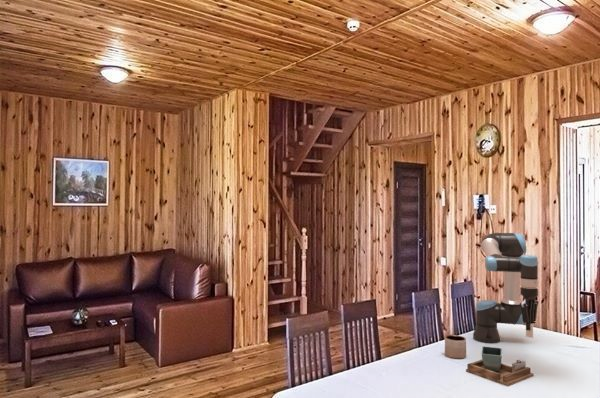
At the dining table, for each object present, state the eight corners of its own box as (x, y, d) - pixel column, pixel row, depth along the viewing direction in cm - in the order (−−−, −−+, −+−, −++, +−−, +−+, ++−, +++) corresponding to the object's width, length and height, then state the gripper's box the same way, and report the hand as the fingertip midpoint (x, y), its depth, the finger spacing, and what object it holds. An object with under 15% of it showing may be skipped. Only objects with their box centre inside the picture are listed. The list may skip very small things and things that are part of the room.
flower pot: (502, 365, 212) (501, 347, 211) (502, 374, 204) (501, 355, 203) (483, 363, 216) (482, 346, 215) (482, 371, 208) (481, 353, 207)
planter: (444, 357, 231) (444, 339, 231) (445, 351, 241) (445, 333, 241) (466, 360, 227) (465, 341, 227) (466, 354, 237) (466, 336, 237)
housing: (465, 371, 211) (465, 364, 211) (492, 363, 223) (492, 355, 223) (507, 386, 193) (507, 377, 193) (533, 376, 206) (533, 368, 206)
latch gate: (511, 374, 203) (511, 362, 203) (522, 370, 208) (521, 358, 208) (515, 376, 202) (515, 363, 202) (526, 372, 207) (526, 359, 207)
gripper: (529, 289, 205) (530, 340, 204) (543, 287, 212) (544, 336, 211) (514, 287, 211) (514, 337, 210) (528, 285, 218) (528, 333, 217)
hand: (529, 336), depth 211 cm, fingers closed
